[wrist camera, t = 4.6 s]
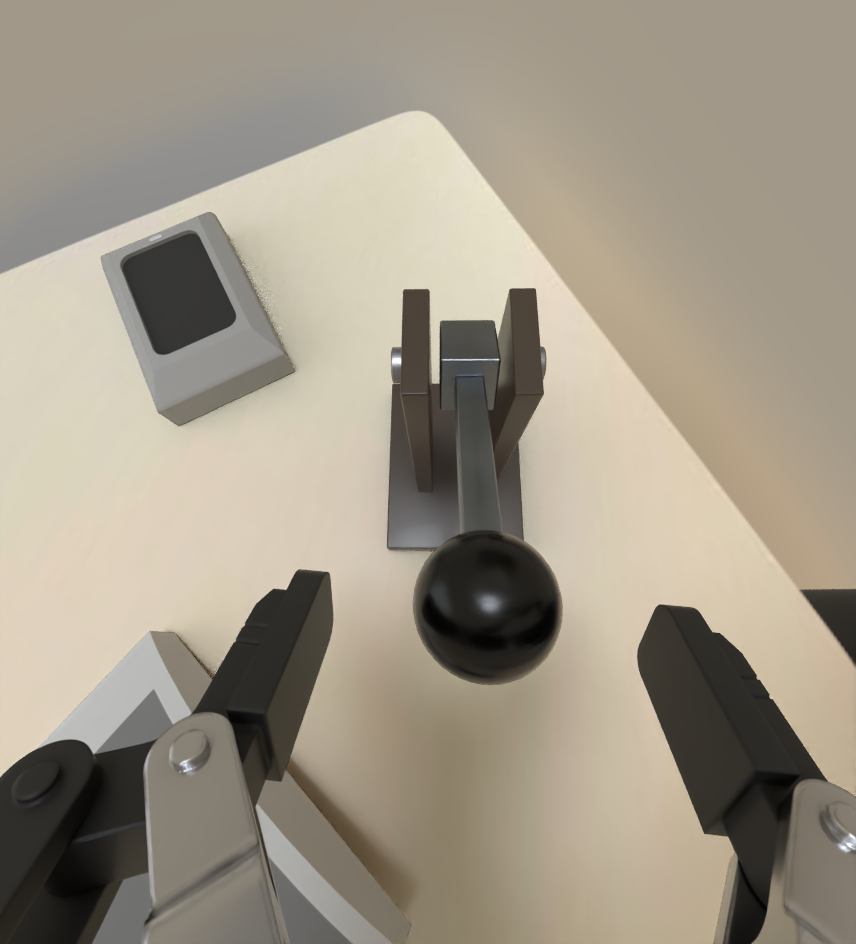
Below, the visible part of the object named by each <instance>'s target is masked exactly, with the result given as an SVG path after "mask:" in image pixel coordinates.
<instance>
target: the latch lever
mask: <svg viewBox="0 0 856 944" xmlns="http://www.w3.org/2000/svg"><path fill="white" fill-rule="evenodd" d="M500 364H501V357H500V351H499V346H498V340H497V334H496V328H495V322H494V321H493V320H463V321H441V322H440V409H441V410H455V430H456V455H457V479H458V504H459V529H460V534H459V535H457V536H454V537H452V538H451V539H449V540H447V541H446V542H444V543H443V544H441V545H440V546H439V547H438V548H437V549H436V550H435V551H434V552H433V553H432V554H431V555H430V556H429V558H428V559H427V560H426V562H425V563H424V565H423V567H422V568H421V571H420V573H419V576H418V578H417V581H416V585H415V588H414V596H413V613H414V620H415V624H416V627H417V631H418V634H419V636H420V638H421V640H422V643H423V644H424V646H425V647H426V649H427V651H428V652H429V653H430V655H431V656H432V657H433V658H434V659H435V661H436V662H437V663H439V664H440V665H441V666H442V667H443V668H444V669H445V670H447V671H448V672H450V673H451V674H453V675H455V676H457V677H458V678H460V679H463V680H466V681H468V682H472V683H476V684H482V685H500V684H505V683H510V682H512V681H515V680H518V679H520V678H522V677H524V676H526V675H528V674H530V673H531V672H532V671H534V670H535V669H536V668H537V667H538V666H539V665H540V664H541V663H542V662H543V661H544V660H545V659H546V658H547V656H548V655H549V654H550V652H551V651H552V649H553V647H554V645H555V643H556V641H557V638H558V635H559V632H560V629H561V623H562V598H561V593H560V590H559V586H558V582H557V580H556V578H555V575H554V573H553V572H552V570H551V568H550V566H549V565H548V564H547V562H546V561H545V559H544V558H543V557H542V556H541V555H540V554H539V553H538V552H537V551H536V550H535V549H534V548H533V547H532V546H531V545H529V544H528V543H526V542H525V541H523V540H521V539H519V538H517V537H515V536H513V535H510V534H508V533H504V532H503V529H502V521H501V512H500V504H499V496H498V487H497V479H496V471H495V462H494V454H493V446H492V438H491V429H490V421H489V413H488V410H494V408H495V401H496V394H497V386H498V379H499V372H500Z"/></svg>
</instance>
